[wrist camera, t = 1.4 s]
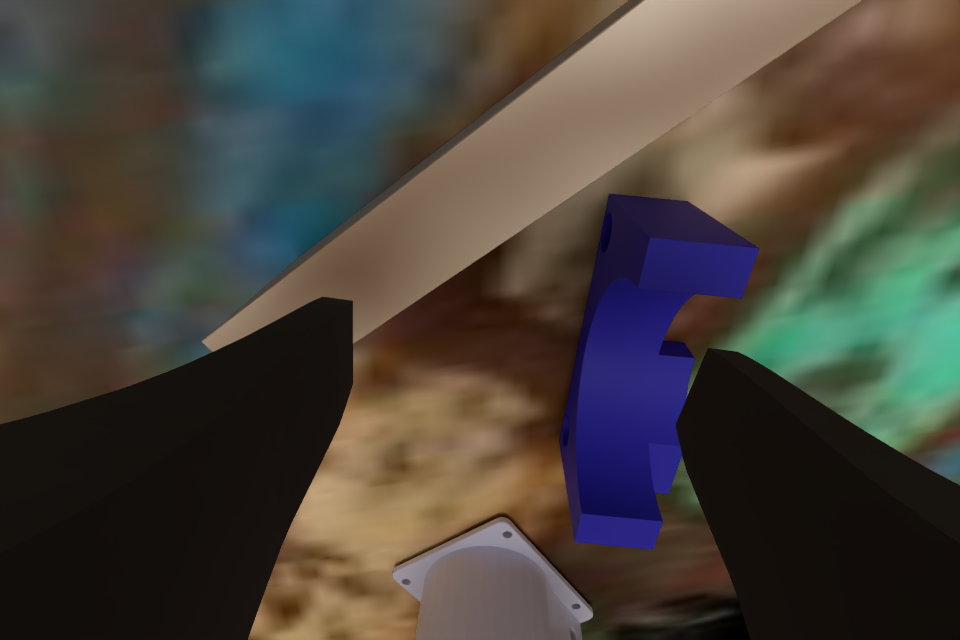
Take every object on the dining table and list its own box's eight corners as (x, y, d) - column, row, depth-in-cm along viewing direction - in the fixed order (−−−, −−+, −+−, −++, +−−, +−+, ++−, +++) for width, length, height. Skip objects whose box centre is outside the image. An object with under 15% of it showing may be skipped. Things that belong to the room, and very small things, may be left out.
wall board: (803, -29, 15) (1021, -108, 9) (338, 303, 21) (266, 402, 15) (772, -112, 15) (989, -266, 8) (297, 258, 20) (201, 341, 14)
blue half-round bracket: (650, 447, 24) (692, 553, 19) (558, 438, 24) (574, 542, 19) (725, 203, 19) (813, 253, 13) (608, 192, 19) (650, 237, 13)
